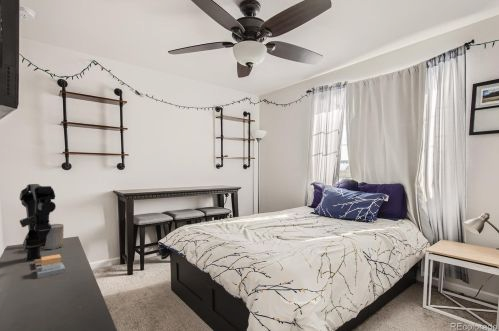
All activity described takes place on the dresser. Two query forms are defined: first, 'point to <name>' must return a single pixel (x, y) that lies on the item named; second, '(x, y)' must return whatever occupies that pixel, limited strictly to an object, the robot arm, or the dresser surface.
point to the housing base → (50, 266)
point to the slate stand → (49, 271)
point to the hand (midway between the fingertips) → (41, 240)
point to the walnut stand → (37, 263)
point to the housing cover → (50, 259)
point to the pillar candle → (54, 237)
